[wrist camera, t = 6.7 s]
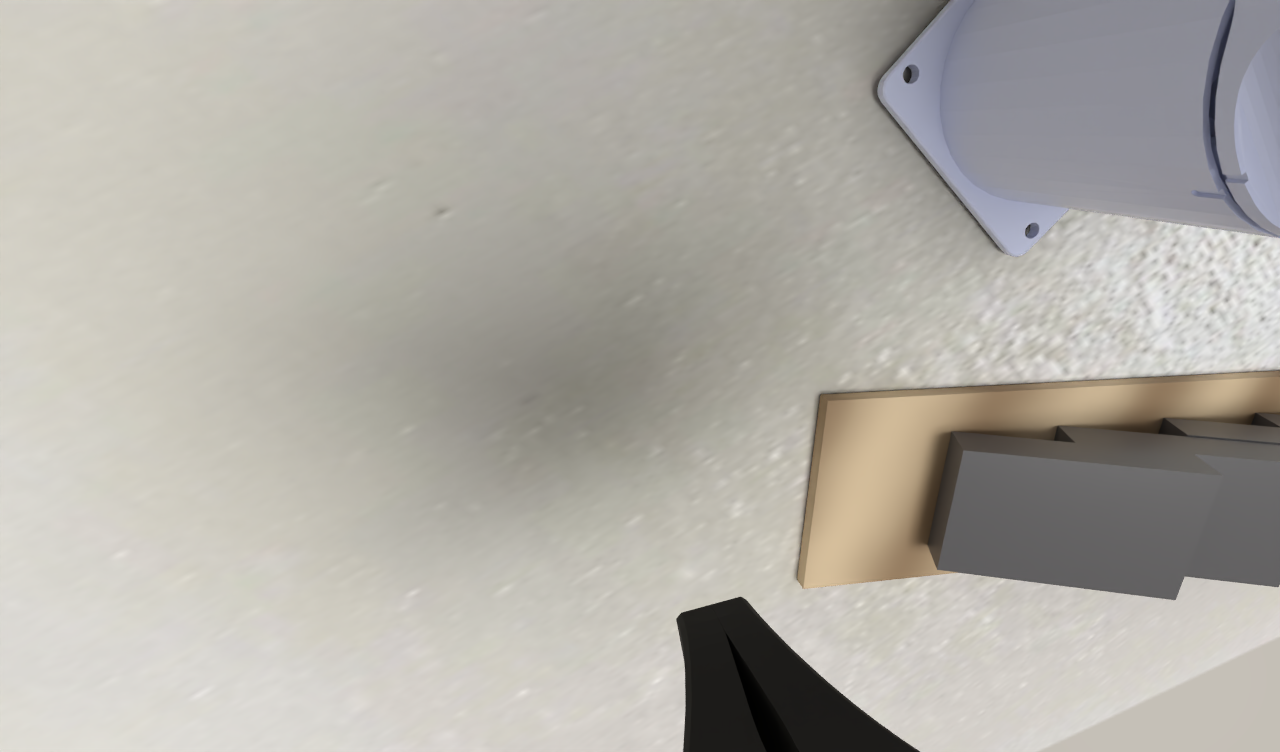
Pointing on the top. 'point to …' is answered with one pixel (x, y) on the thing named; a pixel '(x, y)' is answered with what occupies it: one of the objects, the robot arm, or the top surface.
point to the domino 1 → (1070, 513)
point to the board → (918, 442)
